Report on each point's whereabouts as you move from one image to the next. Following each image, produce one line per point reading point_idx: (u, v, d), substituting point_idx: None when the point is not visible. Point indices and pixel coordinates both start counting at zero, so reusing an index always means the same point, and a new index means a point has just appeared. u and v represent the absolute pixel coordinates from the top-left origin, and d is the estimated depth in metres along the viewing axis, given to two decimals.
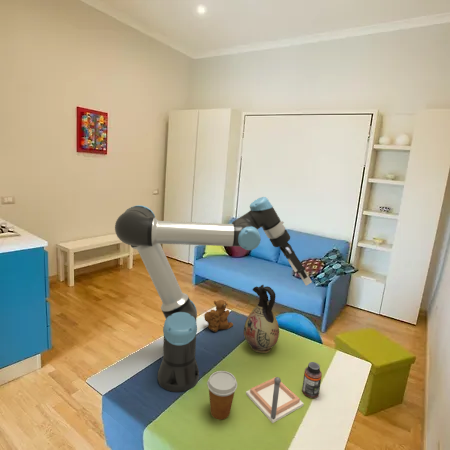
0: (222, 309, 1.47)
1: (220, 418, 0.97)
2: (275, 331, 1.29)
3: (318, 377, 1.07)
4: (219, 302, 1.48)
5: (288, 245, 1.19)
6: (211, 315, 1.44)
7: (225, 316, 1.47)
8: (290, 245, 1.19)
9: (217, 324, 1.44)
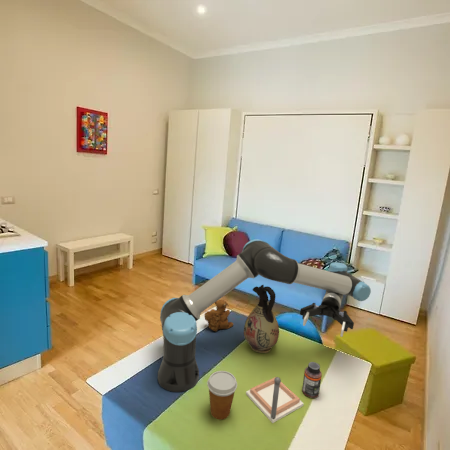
0: (222, 309, 1.47)
1: (220, 418, 0.97)
2: (275, 331, 1.29)
3: (318, 377, 1.07)
4: (219, 302, 1.48)
5: None
6: (211, 315, 1.44)
7: (225, 316, 1.48)
8: None
9: (217, 324, 1.44)
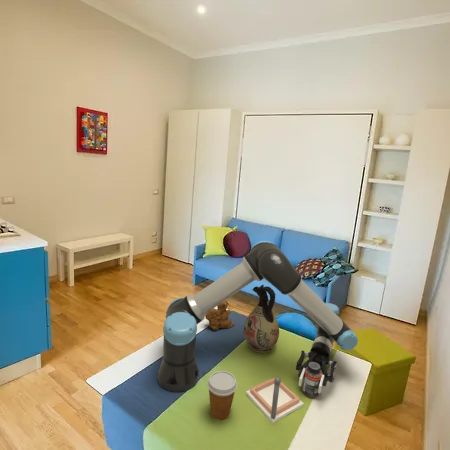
0: (223, 308, 1.48)
1: (220, 418, 0.97)
2: (275, 331, 1.29)
3: (318, 377, 1.07)
4: None
5: None
6: (212, 314, 1.45)
7: (226, 315, 1.48)
8: None
9: (217, 323, 1.45)
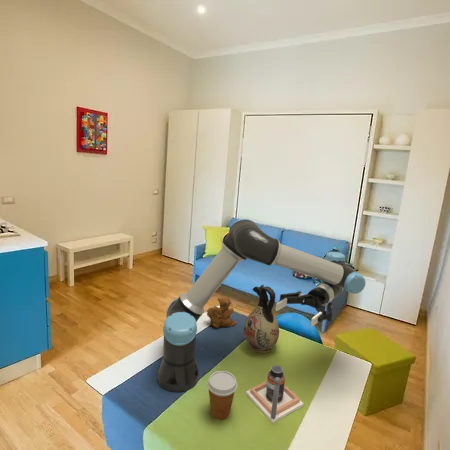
0: (225, 307, 1.50)
1: (220, 418, 0.97)
2: (275, 331, 1.29)
3: None
4: (222, 299, 1.50)
5: None
6: (213, 311, 1.47)
7: (227, 314, 1.50)
8: None
9: (218, 321, 1.47)
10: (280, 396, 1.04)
